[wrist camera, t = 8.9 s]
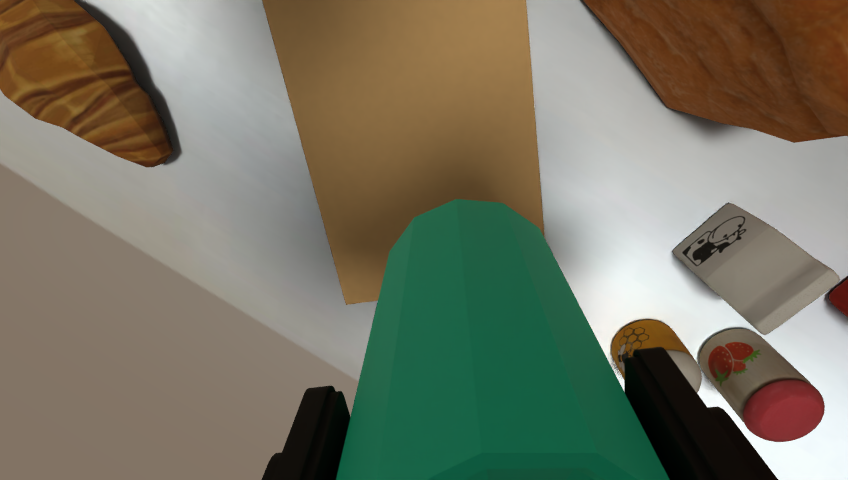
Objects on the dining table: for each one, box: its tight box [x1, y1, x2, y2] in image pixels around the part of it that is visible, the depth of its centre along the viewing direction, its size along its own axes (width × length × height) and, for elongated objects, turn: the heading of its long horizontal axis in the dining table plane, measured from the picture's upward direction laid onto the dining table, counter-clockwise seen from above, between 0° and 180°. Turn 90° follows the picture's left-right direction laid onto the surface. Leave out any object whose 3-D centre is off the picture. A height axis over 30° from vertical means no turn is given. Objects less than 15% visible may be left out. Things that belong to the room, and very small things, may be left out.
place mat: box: [262, 0, 545, 305], centre depth 28 cm, size 20×14×1 cm
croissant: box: [0, 0, 174, 167], centre depth 25 cm, size 14×7×5 cm, turn 34°
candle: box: [336, 199, 670, 480], centre depth 11 cm, size 6×6×12 cm
